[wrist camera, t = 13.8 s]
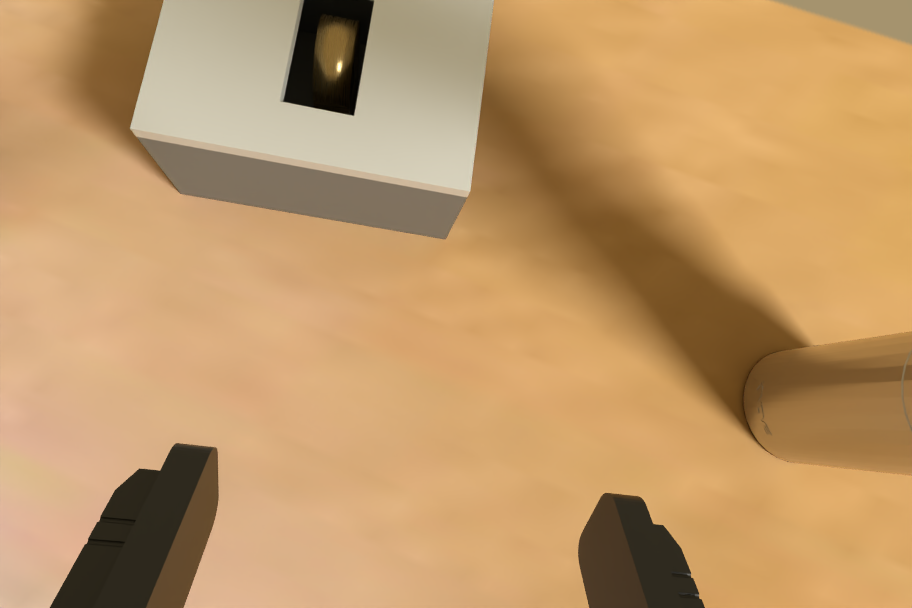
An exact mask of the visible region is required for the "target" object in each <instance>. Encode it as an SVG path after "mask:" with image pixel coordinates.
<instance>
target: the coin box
mask: <svg viewBox="0 0 912 608" xmlns="http://www.w3.org/2000/svg"><path fill="white" fill-rule="evenodd" d="M493 4H494V0H164V1H163V5H162V9H161V13H160V17H159V20H158V24H157V28H156V32H155V35H154V39H153V43H152V47H151V51H150V54H149V58H148V62H147V66H146V69H145V73H144V77H143V81H142V85H141V88H140V92H139V96H138V100H137V103H136V107H135V111H134V115H133V119H132V122H131V126H130V129H131V130H132V132H133V133H134V134H135V136H136V137H137V138H138V139H139V141H140V142H141V143H142V145H143V146H144V147H145V149H146V150H147V151H148V152H149V154H150V155H151V156H152V158H153V159H154V160H155V161H156V163H157V164H158V165H159V167H160V168H161V169H162V170H163V172H164V173H165V174H166V176H167V177H168V178H169V179H170V181H171V182H172V183H173V185H174V186H175V187H176V188H177V190H178V191H179V192H180V194H185V195H191V196H197V197H202V198H208V199H214V200H220V201H226V202H231V203H237V204H243V205H249V206H255V207H261V208H266V209H272V210H278V211H284V212H290V213H295V214H301V215H307V216H313V217H319V218H324V219H330V220H336V221H342V222H348V223H353V224H359V225H365V226H371V227H377V228H383V229H388V230H394V231H400V232H406V233H412V234H417V235H423V236H429V237H435V238H441V239H446V237H447V235H448V234H449V232H450V230H451V228H452V226H453V224H454V222H455V220H456V218H457V216H458V214H459V212H460V210H461V208H462V207H463V205H464V203H465V201H466V199H467V197H468V195H469V193H470V190H471V181H472V173H473V165H474V157H475V149H476V141H477V133H478V125H479V117H480V109H481V101H482V93H483V85H484V77H485V68H486V60H487V52H488V44H489V36H490V28H491V20H492V12H493ZM322 14H326V15H331V16H336V17H341V18H346V19H351V20H356V21H359V23H360V47H359V79H358V86H357V93H356V100H355V107H354V114H353V116H352V115H347V114H341V113H336V112H331V111H326V110H321V109H316V108H314V103H313V62H314V51H315V42H316V35H317V29H318V25H319V21H320V17H321V15H322Z"/></svg>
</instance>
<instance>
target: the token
mask: <svg viewBox="0 0 912 608" xmlns="http://www.w3.org/2000/svg"><path fill="white" fill-rule="evenodd" d="M359 47H360V23H359V21H356V20H351V19H346V18H341V17H336V16H331V15H326V14H322V15H321V17H320V21H319V25H318V29H317V35H316V42H315V51H314V62H313V103H314V108H316V109H321V110H326V111H331V112H336V113H341V114H347V115H352V116H353V114H354V107H355V100H356V93H357V86H358V79H359Z"/></svg>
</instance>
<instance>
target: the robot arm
mask: <svg viewBox="0 0 912 608" xmlns="http://www.w3.org/2000/svg"><path fill="white" fill-rule="evenodd" d="M744 411H745V415H746V419H747V422H748V424H749V427H750V429H751V431H752V433H753V435H754V436H755V438H756V439H757V441H758V442H759V443H760V444H761V445H762V446H763V447H764V448H765V449H766V450H767V451H768V452H770V453H771V454H773V455H774V456H776V457H777V458H780V459H782V460H785V461H787V462H793V463H801V464H810V465H819V466H828V467H836V468H845V469H855V470H864V471H874V472H883V473H893V474H902V475H912V332H905V333H898V334H892V335H885V336H878V337H872V338H865V339H858V340H852V341H845V342H838V343H831V344H825V345H817V346H810V347H804V348H797V349H791V350H784V351H779V352H775V353H772V354H769V355H768V356H766V357H764V358H762V359H761V360H760V361H759V362H758V363H757V364H756V365H755V366H754V368H753V369H752V371H751V372H750V374H749V376H748V379H747V382H746V384H745V390H744ZM217 506H218V452H217V448H215V447H207V446H198V445H189V444H180V443H176V444H175V445H174V446H173V447H172V449H171V450H170V452H169V454H168V456H167V458H166V460H165V462H164V464H163V466H162V468H161V470H160V471H158V470H148V469H139V470H137V471H136V472H135V473H134V474H133V475H132V476H131V477H130V478H128V479H127V480H126V481H125V482H124V483H123V484H122V485H120V486H119V487H118V488H117V489H116V490H115V491H114V493H113V495H112V497H111V499H110V500H109V502H108V504H107V506H106V508H105V509H104V511H103V513H102V515H101V517H100V521H99V522H97V524H96V526H95V527H94V529H93V531H92V533H91V535H90V536H89V538H88V543H87V544H85V545H84V547H83V549H82V551H81V553H80V554H79V556H78V558H77V560H76V562H75V563H74V565H73V567H72V569H71V571H70V572H69V574H68V576H67V578H66V580H65V581H64V583H63V585H62V587H61V589H60V590H59V592H58V594H57V596H56V598H55V599H54V601H53V603H52V605H51V607H50V608H183V607H184V605H185V602H186V599H187V596H188V594H189V591H190V588H191V585H192V583H193V580H194V577H195V574H196V571H197V569H198V566H199V563H200V560H201V558H202V555H203V552H204V549H205V547H206V544H207V541H208V538H209V535H210V533H211V530H212V527H213V524H214V520H215V516H216V511H217ZM578 557H579V565H580V569H581V574H582V578H583V582H584V587H585V591H586V595H587V600H588V604H589V608H705V607H704V604H703V602H702V599H699V592H698V589H697V587H696V584H695V582H694V579H693V578H691V572H690V569H689V567H688V564H687V562H686V559H685V557H684V554H683V552H682V549H681V548H680V546H679V545H678V544H677V542H676V541H675V540H674V538H673V537H672V536H671V535H670V533H669V532H668V531H667V529H666V528H665V527H664V526H663V525H656V524H653V522H652V520H651V517H650V514H649V512H648V509H647V506H646V504H645V502H644V500H643V499H642V498H640V497H638V496H630V495H621V494H612V493H605V494H603V495H602V496H601V498H600V500H599V502H598V504H597V506H596V507H595V509H594V511H593V513H592V515H591V517H590V519H589V521H588V522H587V524H586V526H585V528H584V530H583V532H582V534H581V537H580V540H579V548H578Z"/></svg>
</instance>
